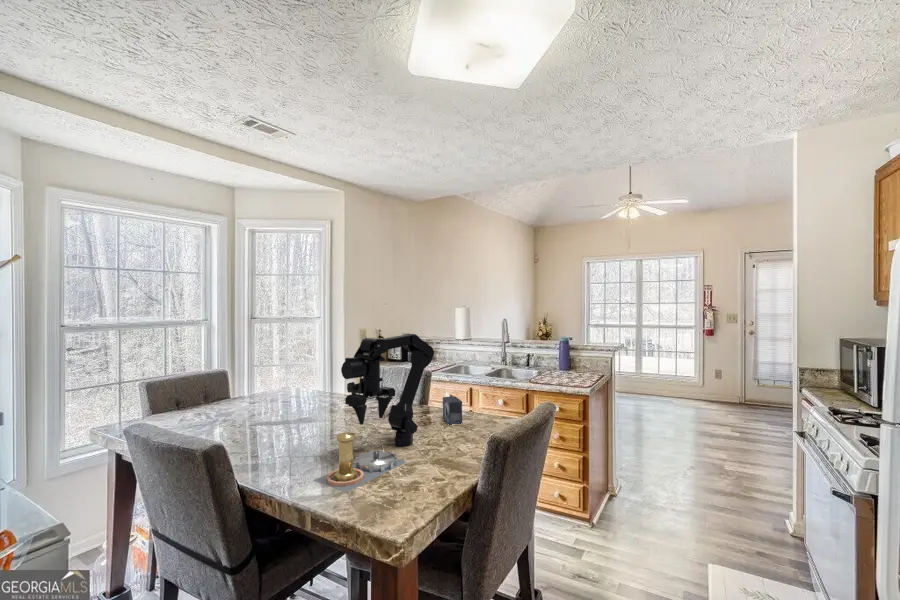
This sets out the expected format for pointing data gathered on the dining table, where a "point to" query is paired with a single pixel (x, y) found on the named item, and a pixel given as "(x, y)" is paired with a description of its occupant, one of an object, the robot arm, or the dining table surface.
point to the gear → (376, 461)
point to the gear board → (360, 480)
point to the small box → (452, 410)
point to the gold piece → (345, 458)
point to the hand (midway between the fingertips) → (371, 421)
